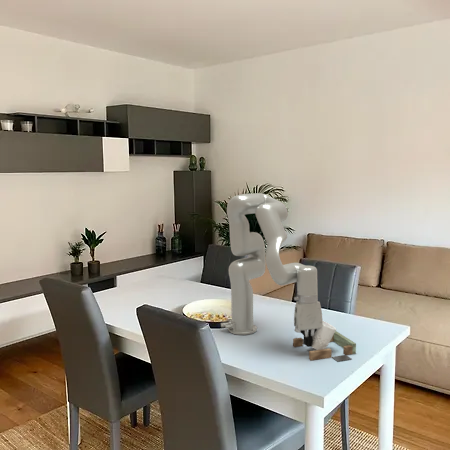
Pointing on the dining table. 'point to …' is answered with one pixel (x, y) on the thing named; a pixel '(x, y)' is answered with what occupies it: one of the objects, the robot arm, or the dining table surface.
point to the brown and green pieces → (338, 338)
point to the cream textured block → (323, 336)
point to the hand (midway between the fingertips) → (308, 345)
